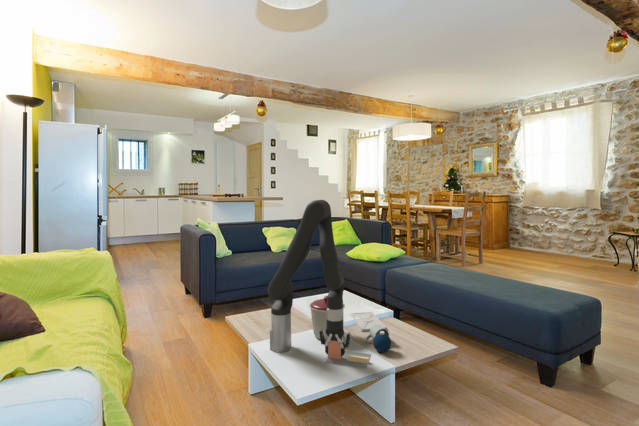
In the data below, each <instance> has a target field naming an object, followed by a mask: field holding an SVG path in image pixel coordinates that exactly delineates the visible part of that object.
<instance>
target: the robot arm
mask: <svg viewBox="0 0 639 426" xmlns="http://www.w3.org/2000/svg"><path fill="white" fill-rule="evenodd" d="M331 208H332V207H331V205H330V203H329V202H328V201H327V200H324V199H317V200H315V199H314V200H312V201H310V202H309V203H308V204H307V205H306V207H305V209H304V211H303V214H302V217H301V220H300V223H299V225H298V228H297V230H296V232H295V233H294V235H293V237H292V240H291V241H290V244H289V245H288V248H287V249H286V252H285V253H284V254H285V255H284V256H283V258H282V260H281V263H280V265H279V266H278V269H277V271H276V272H275V274H274V276H273V277H272V279H271V280H270V282H269V284H268V287H267V294H268V297H269V298H270V299H271V300H272V301H274V302H273V304H272V306H271V308H270V309H271V310H270V313H271V314H270V315H271V321H270V322H271V323H270V324H271V325H270V326H271V327H270V329H269V349H270V350H272V351H273V352H277V353H284V352H288V351H290V350H291V349H292V307H293V302H294V301H293V300H294V298H293V297H294V288H293V283H292V281H291V278H292V277H293V276H294V275H295V273H296V272H298V270H299V269H300V267H302V265H303V264H304V263H305V260H306V259H307V257H308V255H309V253H310V251H311V248H312V240H313V236H314V232H315V231H316V229H317V227H318V230H319V253H320V258H321V262H322V263H321V264H322V266H323V279H324V283H325V287H326V288H327V289H328V294H327V295H326V296H327V311H326V330H323V329H322V330H321V331H320V332H319V333H320V339H319V340H320V344H321V345H322V346H323V345H324V348H325V349H324V350H325V353H326V355H328V343H329V341H330V340H332V341H333V340H335V341H338V342H339V344H340V346H341V356H343V355H344V354H345V351H346V348H348V347H349V345H350V342H351V332H345V330H344V310H343V303H344V299H343V298H344V297H343V296H344V295H343V294H344V288H345V276H344V275H343V273H341V272H340V271H339V257H338V252H337V249H336V244H335V238H334V237H335V236H334V232H333V231H334V230H333V222H332V209H331ZM325 333H326V334H327V336H328V339H327V341H325V337H324V335H325ZM343 337H344V338H345V341H344V338H343Z"/></svg>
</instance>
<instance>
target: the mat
mask: <svg viewBox="0 0 639 426" xmlns="http://www.w3.org/2000/svg"><path fill="white" fill-rule="evenodd" d="M372 355H373V354H372V353H364V352H358V351H350V350H345V354H344V355H343V356H342V359H333V358H328V357H327V358H326V360H325V362H324V364H328V365H337V366H345V367H351V368H357V369H364V370H365V369H366V370H367V368H368V366H369V362H370V360H371V357H372Z"/></svg>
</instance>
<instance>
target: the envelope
mask: <svg viewBox="0 0 639 426" xmlns="http://www.w3.org/2000/svg"><path fill="white" fill-rule="evenodd" d="M350 315H351V316H352V317H353V318H354V320H355V322H354V323H355V325H356V326H357V327H358V329H359V330H360V332H363V333H364V332H370V329H371V327H372V326H374V325H379V326H381V327H383V328H385V329H386V330H387V331H388V329H387V326H386V325H385V324H384V323H383V322H382V321H381V320H380V319H379V317H378V316H377V315H376V314H375V313H374V312H373V311H366V312H365V311H364V312H350V313H349V316H350ZM363 316H364V318H363ZM356 317H358V318H360V319H355V318H356Z"/></svg>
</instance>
